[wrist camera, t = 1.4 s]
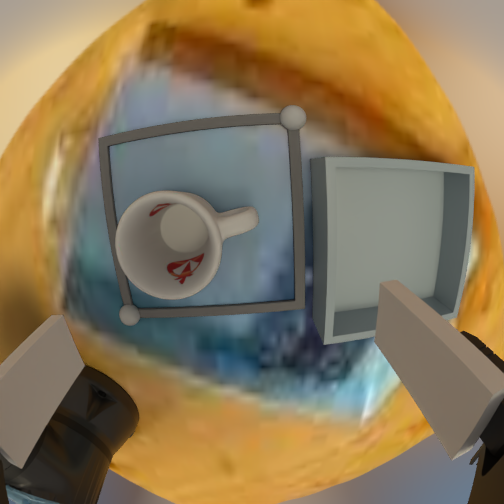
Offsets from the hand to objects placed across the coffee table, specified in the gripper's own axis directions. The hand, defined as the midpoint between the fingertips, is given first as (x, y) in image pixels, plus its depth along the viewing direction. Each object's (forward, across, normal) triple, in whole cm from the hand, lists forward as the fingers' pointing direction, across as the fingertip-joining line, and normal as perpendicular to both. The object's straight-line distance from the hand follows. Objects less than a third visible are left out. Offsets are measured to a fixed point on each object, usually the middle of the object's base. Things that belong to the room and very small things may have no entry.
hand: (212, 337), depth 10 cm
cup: (+18, -3, +2) cm, 18 cm away
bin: (+17, +16, -2) cm, 24 cm away
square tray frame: (+17, -3, +2) cm, 18 cm away
